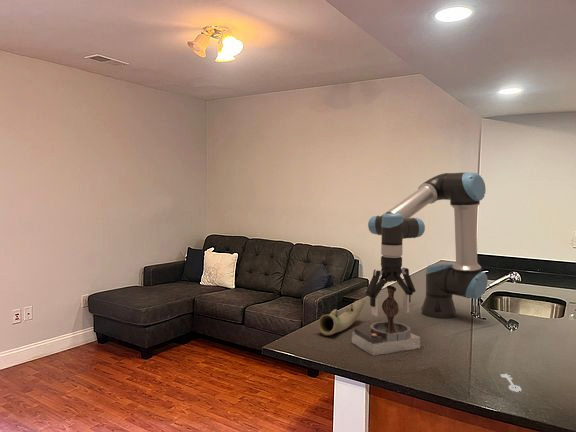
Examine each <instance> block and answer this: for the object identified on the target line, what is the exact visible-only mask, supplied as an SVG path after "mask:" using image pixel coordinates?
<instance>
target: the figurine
mask: <svg viewBox="0 0 576 432" xmlns="http://www.w3.org/2000/svg"><path fill="white" fill-rule="evenodd" d="M386 289H387V294H388V296H387V298H386V299H384V300H383V302H382V305H381V308H382V311H383V313H384V314H385V316H386V319H387V322H388V327H387V330H386V332H390V333H397V332H396V331H395V329H394V325H393V322H394V318H395V316H396V315H398V313H399V311H400V310H399V309H400V308H399V303H398V302H397V301H396V299H395V293H396V291H397V288H396V287H395V286H393V285H387V286H386Z"/></svg>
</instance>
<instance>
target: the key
mask: <svg viewBox="0 0 576 432" xmlns="http://www.w3.org/2000/svg"><path fill="white" fill-rule="evenodd" d="M500 377H501V378H505V379H506V380H508V382H509V384H510V385H508V389H509V390H510V391H513V392H516V393H518V392H519V391H520V392H522V388H521V387H520V385H517V384H514V383H513V381H512V380H513V377H511V375H510V374H509V375H508V373H500ZM515 387H516V388H515Z"/></svg>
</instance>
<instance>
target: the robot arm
mask: <svg viewBox="0 0 576 432" xmlns="http://www.w3.org/2000/svg"><path fill="white" fill-rule="evenodd" d="M485 194H486V183H485V181H484V178H483V177H482V176H481V175H480V174H479V173H477V172H469V171H466V172H448V173H447V172H446V173H445V172H444V173H440V174H438V175H435V176H433V177H431V178H429V179H427V180H426V181H424V182H423V183H421V184H420V185H419V186H418V188H417V190H416V191H414V192H413V193H411V194H410V195H408V196H407V197H406V198H404V199H403V200H402V201H400V202H399V203H397V204H396V205H394V206H392V207H391V209H389V210H387V211H386V212H385V213H384V214H382V215H380V216H379V215H373V216H371V217H370V218H369V219H368V223H367V227H368V231H369V233H371V234H373V235H378V236H381V248H380V252H381V253H380V255H381V256H380V266H381V269H380V270H377V269H374V270H373V273H372V277H371V280H370V282H369V284H368V287H367V289H366V291H365V296H367V297H369V299H370V300H369V301H370V302H369V304H370V306H371V315H372V316H375V317H378V316H379V314H378V312H379V298H378V295H379V294H380V292H381V291H382V289H383V288H384V287H385V285H386V284H387V283H391V282H397V284H398V285H399V286H400V288H401V289H402V290H403V292H404V293H402V311H403V312H404V313H410V303H411V301H412V300H411V298H412V297H411V296H413V293H416V288H415V285H414V282H413V281H412V278H411V276H410V272H409V271H410V270H409V268H407V267H403V257H402V256H403V240H404V239H416V238H419V237H422V236H423V235H424V233H425V231H426V230H425V229H426V226H425V223H424V221H423V220H422V219H421V218H418V217H413V216H414V215H415V214H417V213H418V212H420V211H421V210H422V209H424V208H425V207H427V206H428V205H429V204H433V203H436V202H438V201H441V200H443V201H444V200H447V201H449V204H450V205H449V206H451V207H452V208H453V210H454V214H453V215H454V236H455V237H454V242H455V243H454V244H455V263H454V264H453V263H433V264H429V265H427V267H426V273H425V296H424V297H425V298H424V300H423V303H422V306H421V309H420V310H421V314H423V315H425V316H427V317H431V318H437V319H451V318H455V317H456V316H457V309H456V306H455V303H454V299H453V296H454V295H455V296H459V297H463V298H466V299H474V300H477V299H479V298H481V297H482V296H483V295H484V294H485V292H486V290H487V287H488V283H489V282H488V279H489V278H488V276H487V274H486V273H485V272H484V271H483V272H482V265H480V264H479V262H478V241H477V240H478V237H477V234H478V233H477V207H478V206H479V205H480V204H481V203H480V201H482V200H483V199H484V198H485ZM401 274H402V275H401ZM403 278H404V279H403Z"/></svg>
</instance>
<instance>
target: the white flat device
mask: <svg viewBox="0 0 576 432" xmlns="http://www.w3.org/2000/svg"><path fill="white" fill-rule="evenodd" d="M393 325H394V329H395V331H396V332H397V333H390V332H386V330H387V327H388V320H387V321H383V320H382V321H376V322H372V323H371V324H369V329H368V328H366V327H365V326H364V327H363V326H362V327H356V328H354V331H352V332H351V343H352V344H353V345H355V346H357V347H358V348H359V349H361V350H363V351H364V352H366V353H368V354H369V355H371V356H372V357H374V356H380V354H381V355H385V354H391V353H392V354H393V353H399V352H405V350H406V351H410V350H411V349H412V350H417V348H418V349H420V348H421V336H419V335H416V334H414V333H412V329H411V326H409V325H407V324H404V323H403V322H401V323H400V322H397V321H393Z"/></svg>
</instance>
